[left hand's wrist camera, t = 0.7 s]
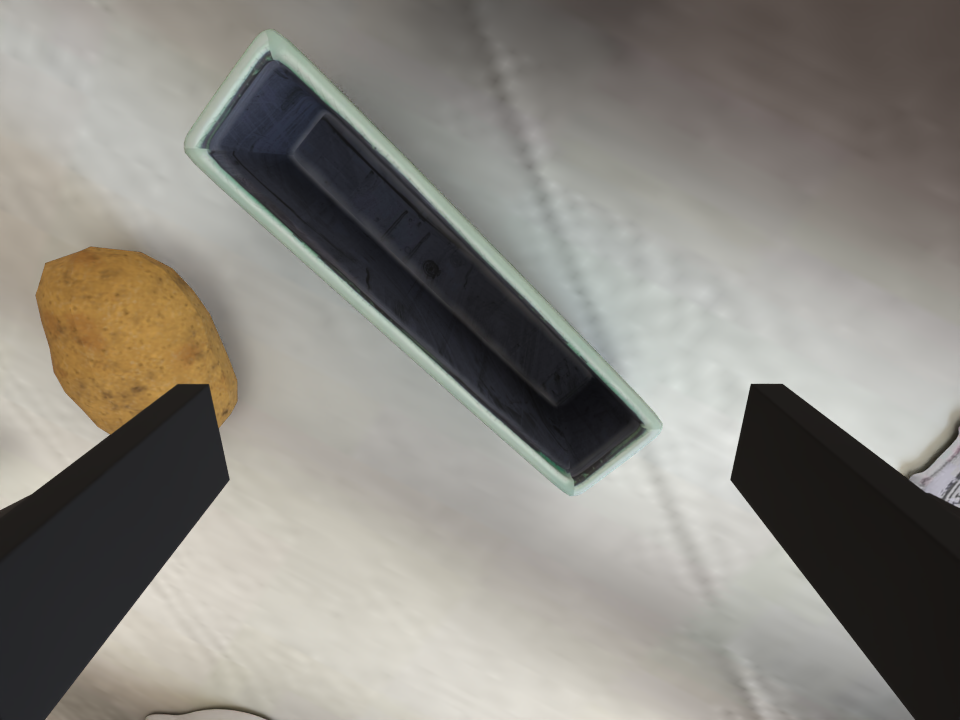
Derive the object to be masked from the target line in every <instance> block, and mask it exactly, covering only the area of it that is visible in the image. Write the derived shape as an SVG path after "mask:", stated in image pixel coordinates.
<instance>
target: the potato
mask: <svg viewBox="0 0 960 720" xmlns="http://www.w3.org/2000/svg"><path fill="white" fill-rule="evenodd" d="M36 299H37V304H38V308H39V312H40V317H41V321H42V325H43V328H44V331H45V334H46V338H47V341H48V344H49V347H50V353H51V359H52V364H53V370H54V373H55V375H56V377H57V379H58V381H59V382H60V384H61V386H62V388H63V390H64V391H65V393H66V394H67V395H68V396H69V397H70V398H71V399H72V400H73V401H74V402H75V403H76V404H77V405H78V406H79V407H80V408H81V409H82V410H83V411H84V412H85V413H86V414H87V415H88V417H89V418H90V419H91V420H92V421H93V422H94V423H95V424H96V425H97V426H98V427H99V428H101V429H102V430H104V431H105V432H107V433H109V434H110V435H111V434H112V433H113V432H115V431H116V430H117V429H119V428H120V427H121V426H123V425H124V424H125V423H127V422H128V421H129V420H131V419H132V418H133V417H134V416H136V415H137V414H138V413H140V412H141V411H142V410H144V409H145V408H146V407H148V406H149V405H150V404H152V403H153V402H154V401H156V400H157V399H158V398H160V397H161V396H162V395H164V394H165V393H166V392H167V391H169V390H170V389H171V388H173V387H174V386H175V385H177V384H209V386H210V390H211V395H212V400H213V404H214V409H215V414H216V418H217V423H218V428H219V427H220V426H221V425H222V424H223V422H224V421H225V420H226V419H227V418H228V417H229V415H230V414H231V412H232V410H233V408H234V407H235V405H236V403H237V379H236V376H235V373H234V371H233V368H232V365H231V363H230V360H229V358H228V355H227V353H226V351H225V348H224V346H223V344H222V341H221V339H220V337H219V334H218V332H217V330H216V327H215V325H214V323H213V320H212V318H211V316H210V314H209V312H208V311H207V309H206V308H205V307H204V305H203V304H202V302H201V301H200V300H199V298H198V297H197V295H196V294H195V292H194V291H193V290H192V289H191V288H190V287H189V286H188V285H187V283H186V282H185V281H184V280H183V279H182V278H181V277H180V276H179V275H178V274H177V273H176V272H175V271H174V270H173V269H172V268H171V267H169V266H167V265H165V264H163V263H161V262H159V261H157V260H155V259H153V258H151V257H149V256H147V255H145V254H143V253H141V252H134V251H125V250H116V249H107V248H98V247H89V248H86V249H84V250H82V251H79V252H76V253H74V254H71V255H68V256H65V257H62V258H59V259H56V260H53V261H50V262H48V263H45V266H44V270H43V273H42V276H41V280H40V283H39V286H38V290H37V292H36Z"/></svg>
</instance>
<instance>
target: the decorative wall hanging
mask: <svg viewBox="0 0 960 720" xmlns="http://www.w3.org/2000/svg"><path fill="white" fill-rule="evenodd" d="M909 480H910V481H911V482H913V483H914V484H915V485H917V486H918V487H919V488H921V489H922V490H923V491H925V492H926V493H931V494H933V495H935V496H937V497H939V498H941V499H943V500H945V501H947V502H949V503H951V504H953V505H955V506H957V507H959V508H960V426H959V435H958V437H957V439H956V440H955V441H954V442H953V443H952V445H951V446H950V447H949V448H948V449H947V450H946V451H945V452H944V453H943V454H942V455H941V456H940V457H939V458H938V459H937V460H936V461H935V462H934V463H933V464H932V465H931V466H930V467H929V468H928V469H927V470H925V471H924V472H922V473H917V474H914V475H912V476H911V477H910V478H909Z"/></svg>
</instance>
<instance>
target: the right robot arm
mask: <svg viewBox="0 0 960 720" xmlns="http://www.w3.org/2000/svg"><path fill="white" fill-rule="evenodd" d="M145 720H266V719H264V718H261V717H259V716H256V715H253V714H249V713H245V712H241V711H235V710H225V709H210V710H201V711H196V712H192V713H188V714H183V715H167V714H153V715H149V716H147V717H146V718H145Z"/></svg>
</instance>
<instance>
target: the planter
mask: <svg viewBox="0 0 960 720" xmlns="http://www.w3.org/2000/svg"><path fill="white" fill-rule="evenodd" d="M184 150H185V153H186V154H187V156H188V157H189V158H190V159H191V160H192V161H193V163H194V164H195V165H196V166H197V167H199V168H200V169H201V170H202V171H203V172H204V173H205V174H206V175H207V176H208V177H209V178H210V179H211V180H212V181H213V182H214V183H215V184H217V185H218V186H219V187H220V188H221V189H222V190H223V191H224V192H225V193H227V194H228V195H229V196H230V197H231V198H232V199H233V200H234V201H235V202H237V203H238V204H239V205H240V206H241V207H242V208H243V209H244V210H245V211H246V212H248V213H249V214H250V215H251V216H252V217H253V218H254V219H255V220H256V221H258V222H259V223H260V224H261V225H262V226H263V227H264V228H265V229H267V230H268V231H269V232H270V233H271V234H272V235H273V236H274V237H275V238H277V239H278V240H279V241H280V242H281V243H282V244H283V245H284V246H286V247H287V248H288V249H289V250H290V251H291V252H292V253H293V254H295V255H296V256H297V257H298V258H299V259H300V260H301V261H302V262H303V263H305V264H306V265H307V266H308V267H309V268H310V269H311V270H312V271H314V272H315V273H316V274H317V275H318V276H319V277H320V278H321V279H322V280H324V281H325V282H326V283H327V284H328V285H329V286H330V287H331V288H333V289H334V290H335V291H336V292H337V293H338V294H339V295H340V296H342V297H343V298H344V299H345V300H346V301H347V302H348V303H349V304H351V305H352V306H353V307H354V308H355V309H356V310H357V311H358V312H360V313H361V314H362V315H363V316H364V317H365V318H366V319H367V320H369V321H370V322H371V323H372V324H373V325H374V326H375V327H376V328H378V329H379V330H380V331H381V332H382V333H383V334H384V335H385V336H386V337H388V338H389V339H390V340H391V341H392V342H393V343H394V344H395V345H397V346H398V347H399V348H400V349H401V350H402V351H403V352H404V353H406V354H407V355H408V356H409V357H410V358H411V359H412V360H413V361H415V362H416V363H417V364H418V365H419V366H420V367H421V368H423V369H424V370H425V371H426V372H427V373H428V374H429V375H430V376H432V377H433V378H434V379H435V380H436V381H437V382H438V383H439V384H441V385H442V386H443V387H444V388H445V389H446V390H447V391H448V392H450V393H451V394H452V395H453V396H454V397H455V398H456V399H457V400H459V401H460V402H461V403H462V404H463V405H464V406H465V407H466V408H468V409H469V410H470V411H471V412H472V413H473V414H474V415H475V416H477V417H478V418H479V419H480V420H481V421H482V422H483V423H485V424H486V425H487V426H488V427H489V428H490V429H491V430H492V431H494V432H495V433H496V434H497V435H498V436H499V437H500V438H501V439H503V440H504V441H505V442H506V443H507V444H508V445H509V446H511V447H512V448H513V449H514V450H515V451H516V452H517V453H518V454H520V455H521V456H522V457H523V458H524V459H525V460H526V461H528V462H529V463H530V464H531V465H532V466H533V467H534V468H536V469H537V470H538V471H539V472H540V473H541V474H542V475H544V476H545V477H546V478H547V479H548V480H549V481H551V482H552V483H553V484H554V485H555V486H557V487H558V488H559V489H560V490H562V491H563V492H564V493H566V494H568V495H569V496H576V495H579V494H581V493H583V492H585V491H586V490H588V489H589V488H590V487H592V486H593V485H594V484H596V483H597V482H598V481H600V480H601V479H602V478H604V477H605V476H606V475H608V474H609V473H610V472H612V471H613V470H614V469H616V468H617V467H618V466H620V465H621V464H622V463H624V462H625V461H626V460H628V459H629V458H630V457H632V456H633V455H634V454H635V453H637V452H638V451H639V450H641V449H642V448H643V447H645V446H646V445H647V444H648V443H650V442H651V441H652V440H653V439H655V438H656V437H657V436H658V435H659V433H660V432H661V430H662V426H663V425H662V422H661V421H660V419H659V418H658V416H657V415H656V414H655V413H654V412H653V410H652V409H651V408H650V407H649V406H648V405H647V404H646V403H645V402H644V401H643V399H642V398H641V397H640V396H639V395H638V394H637V393H636V392H635V391H634V390H633V389H632V388H631V387H630V386H629V385H628V384H627V383H626V382H625V381H624V380H623V379H622V378H621V376H620V375H619V374H618V373H617V372H616V371H615V370H614V369H613V368H612V367H611V366H610V365H609V364H608V363H607V362H606V361H605V360H604V359H603V358H602V357H601V356H600V355H599V354H598V353H597V352H596V351H595V350H594V349H593V348H592V347H591V346H590V345H589V344H588V343H587V342H586V340H585V339H584V338H583V337H582V336H581V335H580V334H579V333H578V332H577V331H576V330H575V329H574V328H573V327H572V326H571V325H570V324H569V323H568V322H567V321H566V320H565V319H564V318H563V317H562V316H561V315H560V314H559V313H558V312H557V311H556V310H555V309H554V308H553V307H552V306H551V305H550V304H549V303H548V302H547V301H546V300H545V299H544V298H543V296H542V295H541V294H540V293H539V292H538V291H537V290H536V289H535V288H534V287H533V286H532V285H531V284H530V283H529V282H528V281H527V280H526V279H525V278H524V277H523V276H522V275H521V274H520V273H519V272H518V271H517V270H516V269H515V268H514V267H513V266H512V265H511V264H510V263H509V262H508V261H507V260H506V259H505V258H504V257H503V256H502V255H501V254H500V253H499V252H498V251H497V250H496V249H495V247H494V246H493V245H492V244H491V243H490V242H489V241H488V240H487V239H486V238H485V237H484V236H483V235H482V234H481V233H480V232H479V231H478V230H477V229H476V228H475V227H474V226H473V225H472V224H471V223H470V222H469V221H468V220H467V219H466V218H465V217H464V216H463V215H462V214H461V213H460V212H459V211H458V210H457V209H456V208H455V207H454V206H453V205H452V204H451V203H450V202H449V201H448V200H447V199H446V198H445V197H444V196H443V195H442V194H441V193H440V192H439V190H438V189H437V188H436V187H435V186H434V185H433V184H432V183H431V182H430V181H429V180H428V179H427V178H426V177H425V176H424V175H423V174H422V173H421V172H420V171H419V170H418V169H417V168H416V167H415V166H414V165H413V164H412V163H411V162H410V161H409V160H408V159H407V158H406V157H405V156H404V155H403V154H402V153H401V152H400V151H399V150H398V149H397V148H396V147H395V146H394V145H393V144H392V143H391V142H390V141H389V140H388V139H387V138H386V137H385V136H384V135H383V134H382V133H381V132H380V131H379V130H378V129H377V128H376V127H375V126H374V125H373V124H372V122H371V121H370V120H369V119H368V118H367V117H366V116H365V115H364V114H363V113H362V112H361V111H360V110H359V109H358V108H357V107H356V106H355V105H354V104H353V103H352V102H351V101H350V100H349V99H348V98H347V97H346V96H345V95H344V94H343V93H342V92H341V91H340V90H339V89H338V88H337V87H336V86H335V85H334V84H333V83H332V82H331V81H330V80H329V79H328V78H327V77H326V76H325V75H324V74H323V73H322V72H321V71H320V70H319V69H318V68H317V67H316V66H315V65H314V64H313V63H312V62H311V61H310V60H309V59H308V58H307V57H305V56H304V55H303V54H302V53H301V52H300V51H299V50H298V49H297V48H296V47H295V46H294V45H293V44H292V43H291V42H290V41H289V40H287V39H286V38H285V37H283V36H282V35H281V34H280V33H278V32H277V31H276V30H272V29H268V30H265V31H263V32H261V33H260V34H259V35H258V36H257V37H256V38H255V39H254V40H253V42H252V43H251V44H250V46H249V47H248V48H247V50H246V51H245V52H244V54H243V55H242V57H241V58H240V59H239V61H238V62H237V63H236V65H235V66H234V68H233V69H232V70H231V72H230V73H229V75H228V76H227V77H226V79H225V80H224V82H223V83H222V84H221V86H220V87H219V89H218V90H217V92H216V93H215V94H214V96H213V97H212V99H211V100H210V102H209V103H208V104H207V106H206V107H205V109H204V110H203V112H202V113H201V115H200V116H199V118H198V119H197V120H196V122H195V123H194V125H193V126H192V128H191V129H190V131H189V132H188V134H187V136H186V138H185V142H184Z"/></svg>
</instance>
